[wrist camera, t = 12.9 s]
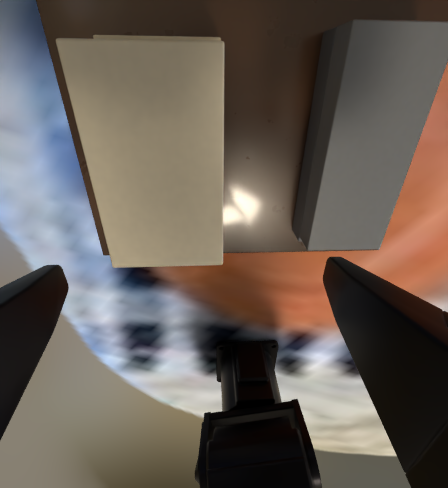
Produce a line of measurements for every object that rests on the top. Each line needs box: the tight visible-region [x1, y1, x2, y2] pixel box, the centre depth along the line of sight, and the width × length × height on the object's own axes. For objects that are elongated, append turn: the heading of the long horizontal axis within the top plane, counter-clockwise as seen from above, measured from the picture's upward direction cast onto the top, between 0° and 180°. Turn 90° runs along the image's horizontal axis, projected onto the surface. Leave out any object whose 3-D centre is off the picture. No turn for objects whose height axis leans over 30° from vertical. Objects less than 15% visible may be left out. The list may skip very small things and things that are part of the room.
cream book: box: [56, 38, 224, 268], centre depth 13 cm, size 10×6×2 cm, turn 0°
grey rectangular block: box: [292, 19, 448, 251], centre depth 16 cm, size 12×5×4 cm, turn 179°
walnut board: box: [36, 0, 448, 255], centre depth 18 cm, size 16×22×1 cm
